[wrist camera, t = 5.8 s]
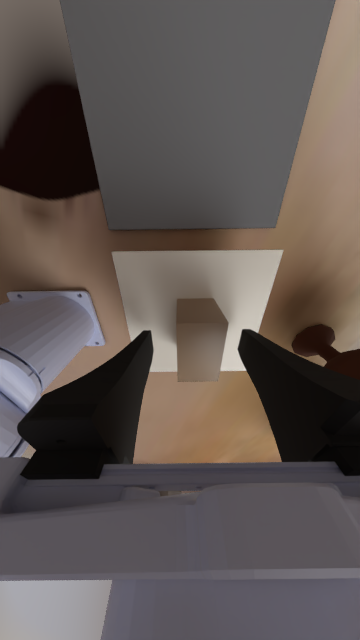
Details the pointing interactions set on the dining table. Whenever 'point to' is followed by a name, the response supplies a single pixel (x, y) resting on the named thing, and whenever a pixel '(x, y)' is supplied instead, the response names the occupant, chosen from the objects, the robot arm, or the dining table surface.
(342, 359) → the ice cream bowl
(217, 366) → the lid
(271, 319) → the dining table surface
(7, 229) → the dining table surface
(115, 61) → the mat
